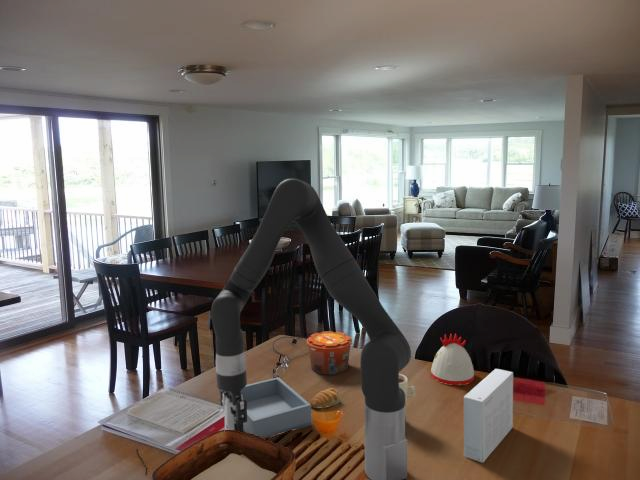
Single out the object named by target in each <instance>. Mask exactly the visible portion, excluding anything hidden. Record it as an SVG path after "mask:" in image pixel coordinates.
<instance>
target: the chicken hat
mask: <svg viewBox="0 0 640 480" xmlns="http://www.w3.org/2000/svg"><path fill="white" fill-rule="evenodd" d="M439 338H440V341H441V343H442V346H441V347H440V349H438V351H437V352H436V353H435V355H434V359H433V361H432V364H431V367H430V369H431V370H430V376H431V375H432V377H433V378H434V379H436V380H438V381H439V382H443V383H447V384H452V385H459V384H466V383H470V382H472V381H473V380H474V379H475V371H474V365H473V363H472V359H471V357H470V355H469V353H468V352H467V349H465V347H464V346H465V344H466V339H464V340H463V342H461V341H462V337H461V336H459V337H458V336H457V334H456V333H455V334H454V336H453V335H452V333H450V335H449V339H448V337H447V334H446V333H445V334H444V339H442V337H439ZM432 377H431V378H432ZM433 378H432V379H433ZM434 379H433V380H434ZM439 382H438V383H439ZM473 382H474V381H473ZM473 382H472V383H473ZM470 384H471V383H470ZM452 385H451V386H452Z"/></svg>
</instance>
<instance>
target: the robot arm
mask: <svg viewBox="0 0 640 480" xmlns="http://www.w3.org/2000/svg"><path fill="white" fill-rule="evenodd" d="M293 221H294V222H295V224H296V225H297V226H298V229H300V231H301V232H302V234H303V235H304V237H305V239H306V241H307V243H308V246H309V250H310V253H311V256H312V261H313V263H314V266H315V270H316V272H317V274H318V276H319V278H320V280H321V282H322V284H323V285H324V287H325V288H326V290H327V292H328V294H329V295H330V296H331V298H332V299H333V300H334V301H335V302H336V303H337V304H338V305H340V306H341V307H342V308H344V309H345V310H346V311H347V312H349V313H350V314H351V315H352V316H353V317H354V318H355V319H356V320H357V321H358V322H359V323H360V324H361V326H362V327H363V329H364V331H365V333H366V334H367V336H368V338H369V341H368V342H366V343H365V345H364V346H363V347H362V350H361V354H360V361H359V364H360V382H361V387H360V388H361V391H362V394H363V397H364V472H365V475H366V477H368V478H369V479H370V480H405V479H407V478H408V439H407V438H406V421H405V417H406V402H405V393H404V391H403V390H402V389H401V388H400V387H399V374H400V372H401V371H402V370H404V368H406V367H407V366H408V364H409V363H410V361H411V358H412V350H411V349H412V348H411V346H410V343H409V342H408V340H407V338H406V337H405V336H404V334H403V332H402V331H401V329H400V328H399V327H398V326H397V324H396V323H395V322H394V320H393V318H392V317H391V316H390V315H389V313H388V312H387V311H386V309H385V308H384V306H383V304H382V303H381V301H380V300H379V298H378V296H377V295H376V293H375V292H374V291H375V290H373V288H372V287H371V285H370V283H369V282H368V280H367V278H366V276H365V275H364V272H363V271H362V269H361V268H360V265H359V264H358V262H357V261H356V259H355V258H354V255H352V252H351V251H350V250H349V248H348V247H347V245H346V243H345V242H344V240H343V239H342V237H341V236H340V234H339V233H338V232H337V231H336V229H335V228H334V226H333V224H332V222H331V221H330V219H329V217H328V214H327V213H326V210H325V208H324V206H323V204H322V201H321V199H320V197H319V194H318V192H317V190H316V189H315V188H314V187H313V186H312V185H311V184H310V183H307V182H306V181H304V180H300V179H298V178H287V179H284V180H282V181H281V182H280V183H279V184H278V185H277V186H276V187H275V190H274V191H273V194H272V195H271V198H270V200H269V203H268V206H267V208H266V210H265V213H264V215H263V217H262V220H261V222H260V223H259V226H258V228H257V229H256V231H255V234H254V235H253V238H252V239H251V241H250V243H249V245H248V246H247V248H246V249H245V251H244V253H243V255H241V257H240V259H239V261H237V264H236V265H235V267H234V269H233V271H232V272H231V275H230V278H229V279H228V280H227V282H226V284H225V285H224V287H223V288H222V290H221V291H220V292H219V294H218V295H217V296H216V298H215V299H213V302H212V304H211V308H210V309H211V310H210V313H211V316H210V317H211V322H212V327H213V331H214V335H215V371H216V372H215V374H216V377H215V378H216V387H217V389H218V390H219V401H220V406H222V410H223V411H224V405H225V398H226V401H227V402H228V403H230V402H232V404H233V405H234V406H235V405H236V406H235V407H236V410H235V411H234V410H233V408H232V407H230V413H231V415H233V420H234V430H236V431H240V432H245V431H244V428H243V423H245V422H247V401H246V400H243V397H242V393H241V392H240V391H241V390H242V389H243V388H244V387H245V386H246V385H248V383H247V381H248V380H247V379H248V377H247V360H246V359H247V358H246V353H245V340H244V338H245V337H244V332H243V329H241V312H242V310H243V308H244V307H245V306H246V303H247V302H248V301H249V298H250V296H251V295H252V293H253V291H254V290H255V289H256V288H257V287H258V285H260V283H261V281H262V280H263V277H264V276H265V275H266V273H267V271H269V268H270V266H271V264H272V262H273V259H274V257H275V254H276V251H277V248H278V245H279V242H280V241H281V238H283V235H284V233H285V232H286V230H287V229H288V227H290V225H291V224H292V223H293ZM242 400H243V401H242ZM240 416H241V417H240Z"/></svg>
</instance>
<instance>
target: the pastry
mask: <svg viewBox="0 0 640 480" xmlns="http://www.w3.org/2000/svg"><path fill="white" fill-rule="evenodd" d="M341 402H342V397H341V395H340V393H339V391H338V390H337V389H336V388H334V387H332V388H331V387H329V388H327V389H324V390H321V391H319V392H318V393H316V395H315V396H314V397H312V398H311V400H310V404H311V408H314V409H316V408H317V407H326V406H331V407H334V406H337V405H338V404H339V403H341Z"/></svg>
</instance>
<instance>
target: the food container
mask: <svg viewBox="0 0 640 480" xmlns="http://www.w3.org/2000/svg"><path fill="white" fill-rule="evenodd" d="M352 344H353V338H351V337H350V336H349V335H347V334H346V333H343V332H341V331H336V332H334V331H332V330H331V331H330V330H328V331H326V330H325V331H321V332H315V333H313V334H311V335H310V336H309V337H308V338H307V339H306V345H307V347H308V355H309V359H310V367H311V369H312V370H313V371H314V372H316V373H318V374H321V375H337V374H341V373H344V372H345V371H346V370H347V369H348V367H349V360H350V352H351V346H352Z"/></svg>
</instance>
